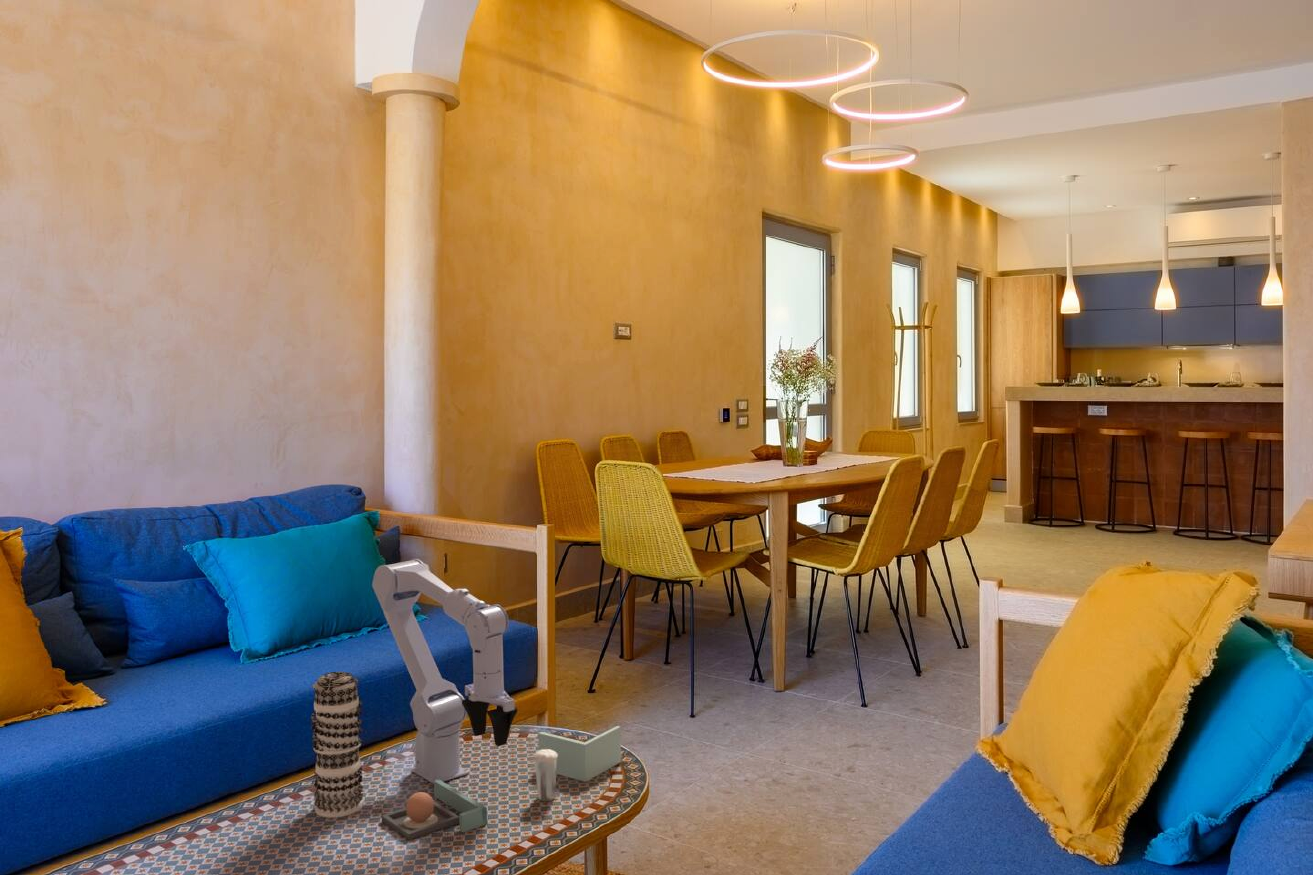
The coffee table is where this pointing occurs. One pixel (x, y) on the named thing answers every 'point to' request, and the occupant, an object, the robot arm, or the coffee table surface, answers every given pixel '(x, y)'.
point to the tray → (414, 829)
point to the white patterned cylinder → (337, 745)
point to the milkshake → (546, 773)
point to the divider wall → (462, 806)
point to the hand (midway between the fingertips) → (490, 739)
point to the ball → (419, 806)
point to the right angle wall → (584, 753)
